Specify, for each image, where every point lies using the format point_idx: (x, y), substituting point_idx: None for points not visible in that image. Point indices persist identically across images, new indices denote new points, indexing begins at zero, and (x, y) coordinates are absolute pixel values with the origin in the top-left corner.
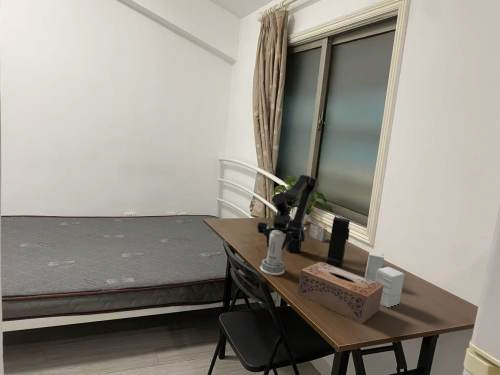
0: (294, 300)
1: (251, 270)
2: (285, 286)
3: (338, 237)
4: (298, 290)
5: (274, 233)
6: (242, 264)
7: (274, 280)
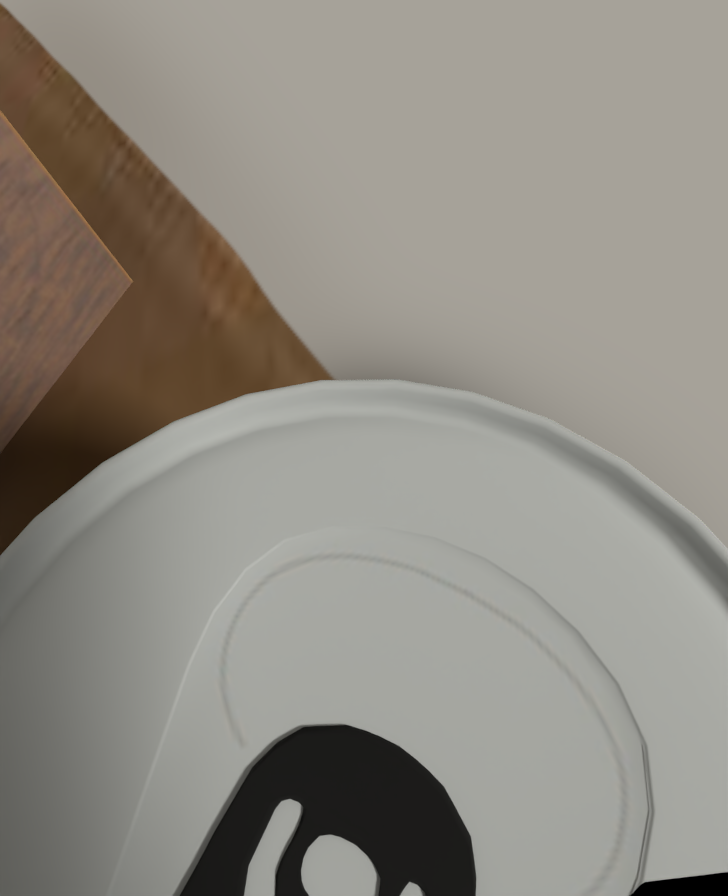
0: (156, 199)
1: None
2: (221, 346)
3: None
4: (115, 261)
5: (484, 415)
6: None
7: None
